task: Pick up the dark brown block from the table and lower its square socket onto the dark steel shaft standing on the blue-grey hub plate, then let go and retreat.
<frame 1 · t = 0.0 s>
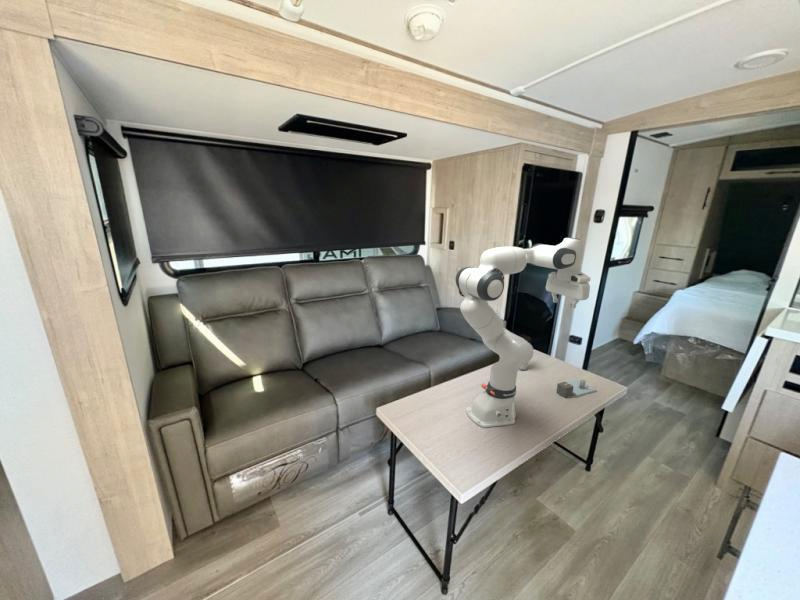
hand: (563, 304, 142), 48 cm above the table, fingers open, 8 cm apart
travel mug: (521, 368, 185), on the table
dark brown block: (564, 394, 158), on the table
hub plate: (576, 388, 164), on the table
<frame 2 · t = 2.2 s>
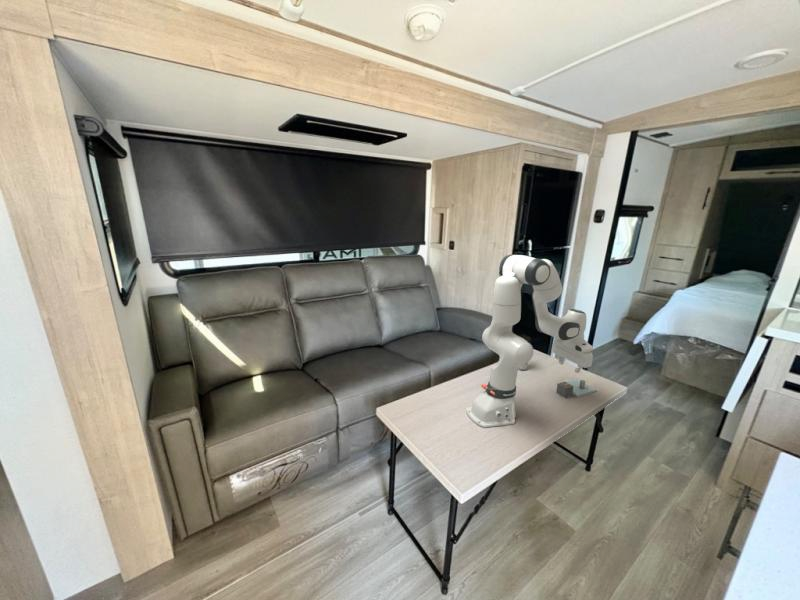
hand: (568, 367, 154), 15 cm above the table, fingers open, 8 cm apart
nothing on the table moved.
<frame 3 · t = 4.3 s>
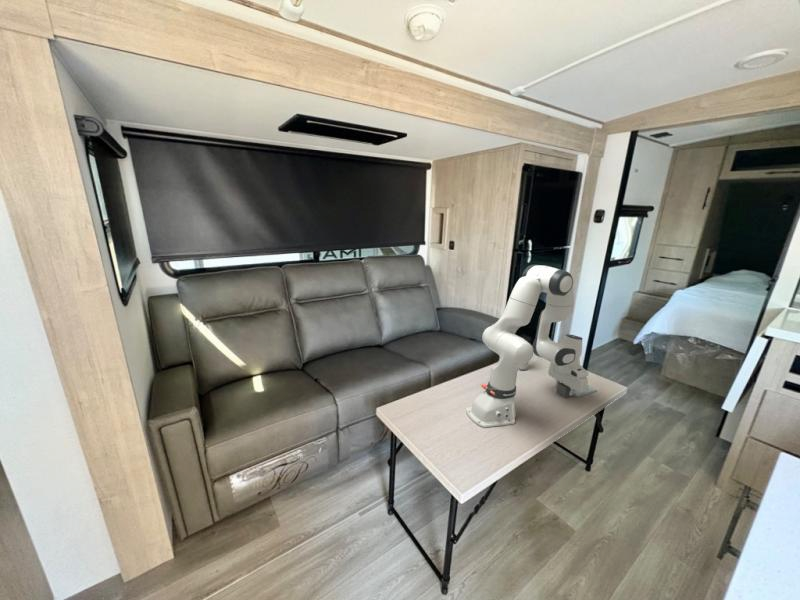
hand: (564, 391, 158), 2 cm above the table, fingers closed on dark brown block, 5 cm apart
dark brown block: (564, 394, 158), on the table, touching gripper
everything else where it was.
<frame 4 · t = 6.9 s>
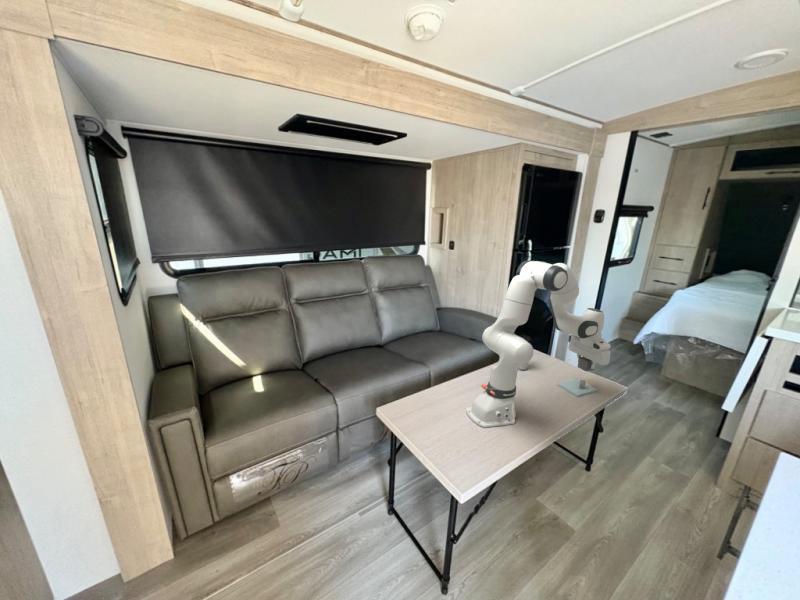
hand: (585, 365, 159), 14 cm above the table, fingers closed on dark brown block, 5 cm apart
dark brown block: (585, 368, 159), point 12 cm above the table, touching gripper
everything else where it was.
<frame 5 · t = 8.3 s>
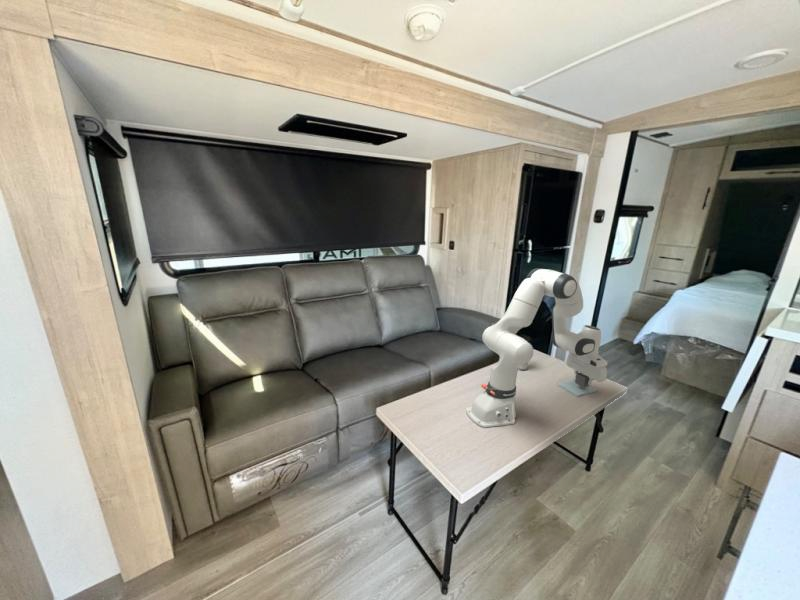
hand: (583, 381, 161), 5 cm above the table, fingers closed on dark brown block, 5 cm apart
dark brown block: (582, 384, 162), point 3 cm above the table, touching gripper
everything else where it was.
when the fingers open (3 cm above the table, at t = 9.7 s): dark brown block stays where it is, resting on hub plate.
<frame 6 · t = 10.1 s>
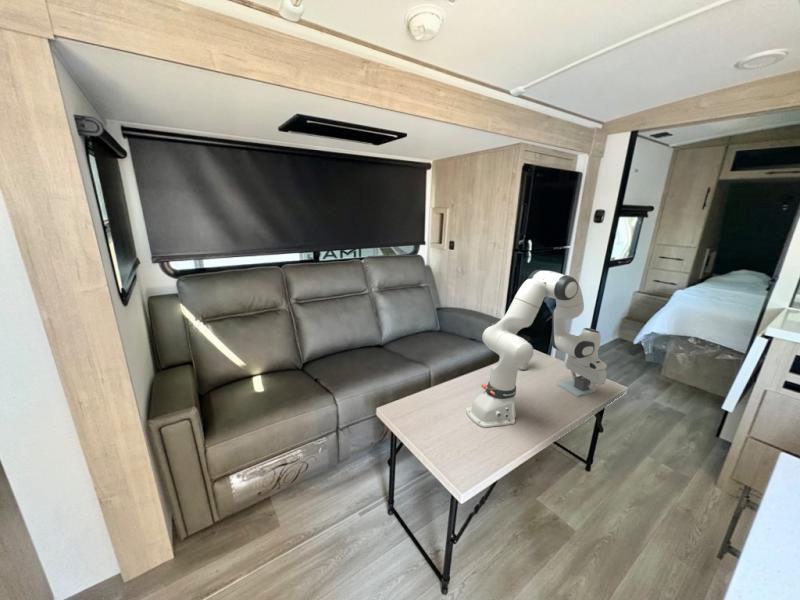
hand: (582, 383, 161), 3 cm above the table, fingers open, 8 cm apart
dark brown block: (581, 387, 162), point 1 cm above the table, touching hub plate
everything else where it was.
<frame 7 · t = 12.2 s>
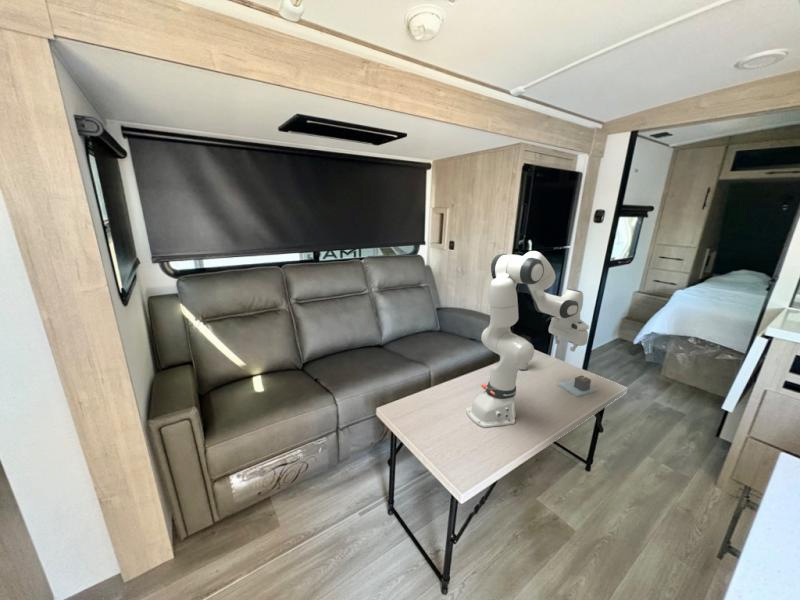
hand: (564, 347, 158), 23 cm above the table, fingers open, 8 cm apart
nothing on the table moved.
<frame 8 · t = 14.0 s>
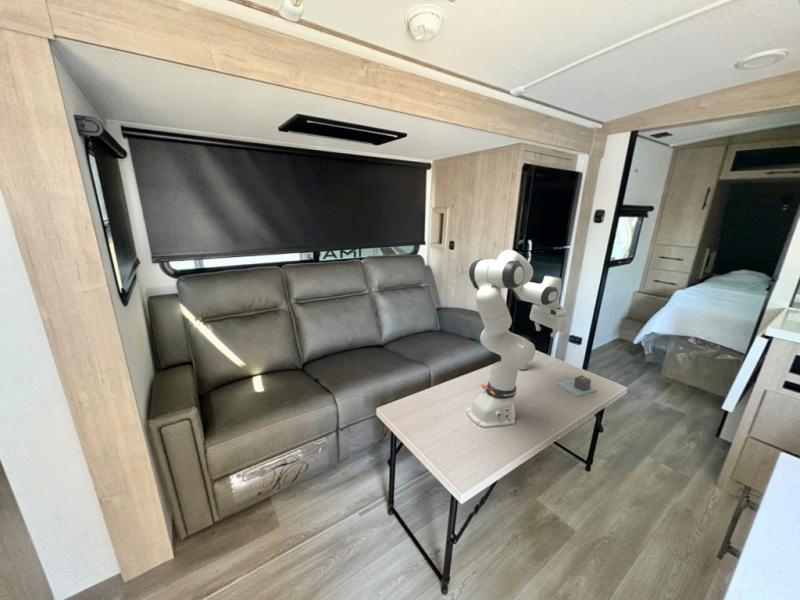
hand: (545, 333, 159), 29 cm above the table, fingers open, 8 cm apart
nothing on the table moved.
at the end: dark brown block 0.0 cm from the target spot, point 1.1 cm above the table; dark brown block tilted 2°; the gripper is holding nothing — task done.
